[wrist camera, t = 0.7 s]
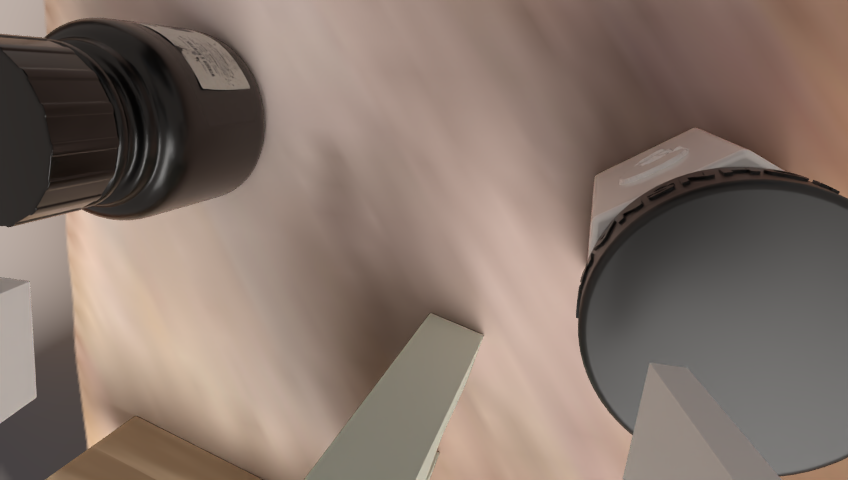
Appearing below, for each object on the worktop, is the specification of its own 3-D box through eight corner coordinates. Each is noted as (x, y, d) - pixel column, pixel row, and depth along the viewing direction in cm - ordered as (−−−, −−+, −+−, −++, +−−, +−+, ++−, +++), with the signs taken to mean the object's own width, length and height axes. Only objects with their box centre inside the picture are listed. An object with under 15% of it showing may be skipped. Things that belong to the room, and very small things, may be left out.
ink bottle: (275, 32, 29) (69, -2, 18) (279, 205, 31) (100, 271, 20) (116, 28, 31) (-152, -4, 20) (131, 188, 34) (-100, 238, 23)
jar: (747, 95, 24) (878, 103, 12) (829, 269, 24) (1022, 423, 13) (547, 192, 27) (510, 267, 16) (625, 343, 28) (641, 516, 16)
